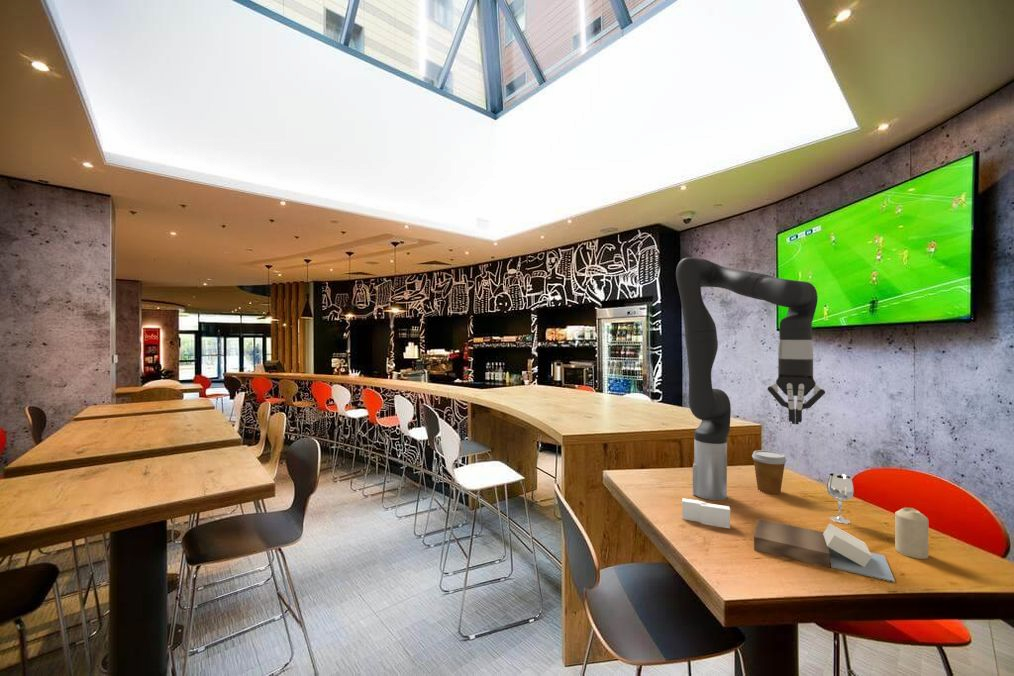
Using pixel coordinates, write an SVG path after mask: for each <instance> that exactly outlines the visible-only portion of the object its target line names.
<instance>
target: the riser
mask: <svg viewBox="0 0 1014 676" xmlns="http://www.w3.org/2000/svg"><path fill="white" fill-rule="evenodd" d="M754 530H755V531H754V534H753V550H755V551H759V552H762V553H767V554H770V555H775V556H779V557H784V558H788V559H792V560H796V561H800V562H803V563H808V564H812V565H816V566H819V567H820V566H821V567H824V568H829V569H830V567H831V564H830V554H829V548H828V546H827V544H826V541H825V538H824V535H823V533H824V531H820V530H815V529H809V528H805V527H800V526H795V525H791V524H786V523H782V522H777V521H771V520H768V519H763V518H757V521H756V526H755V529H754Z"/></svg>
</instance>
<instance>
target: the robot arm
mask: <svg viewBox="0 0 1014 676" xmlns="http://www.w3.org/2000/svg"><path fill="white" fill-rule="evenodd" d="M675 278H676V279H675V280H676V283H677V288H678V293H679V297H680V298H679V299H680V304H681V309H682V317H683V319H682V320H683V325H684V326H683V327H684V340H685V346H686V348H685V349H686V355H687V367H688V404H689V405H688V406H689V408H690V412H691V414H692V415H693V416H694V417H695V418H696V419H698V420H701V422H700V424H699V426H698V427H696V429H694V434H693V435H694V437H693V438H694V439H693V440H694V445H693V447H694V448H693V451H694V452H693V453H694V457H693V458H694V459H693V464H692V495H693V496H696V497H699V498H702V499H704V500H709V501H724V500H726V499H727V497H728V495H727V494H728V489H727V488H728V452H727V451H728V436H729V434H730V429H731V412H732V410H731V407H732V405H731V401H730V398H729V396H728V394H727V393H726V392H725V391H723V390H722V389H719V388H713V383H712V370H713V365H714V363H715V361H716V360H715V359H716V358H717V357H716V356H717V354H718V353H717V352H718V348H719V346H718V345H719V344H718V343H719V341H718V333H717V326H716V323H715V320H714V318H713V317H712V315H711V313H710V311H709V310H708V308H707V307H706V304H705V302H704V300H703V295H702V290H701V289H702V288H705V287H706V288H721V289H724V290H727V291H731V292H733V293H735V294H737V295H741V296H744V297H748V298H751V299H755V300H761V301H765V302H767V303H770V304H773V305H776V306H779V307H784V308H788V309H787V314H786V316H785V317H783V318H782V319H781V320H780V322H779V338H778V339H779V341H778V342H779V343H778V352H777V355H778V357H777V359H778V361H777V362H778V367H777V369H778V370H777V371H778V372H777V373H778V374H777V375H778V377H777V379H776V381H775V383H773V384H772V385H769V386H768V387H767V389H766V390H767V391H768V392H769V393H770V395H771V396H772V397H773V398H774V399H775V401H776V402H777V403H778V404H779V405H780V406H782V407H784V408H787V410H788V421H789V422H791V424H792V425H799V423H802V421H803V410H805V409H810V408H812V406H813V405H814V404H816V403H817V402H818V401H819V400H820V399H821V398H822V397H823V396H824V395H825V394H826V391H825V389H823V388H821V387H819V386H818V385H817V384H816V380H815V379H814V346H813V327H812V324H813V320H814V317H815V313H816V309H817V306H818V292H817V289H816V287H815V286H814V284H812V283H811V282H808V281H803V280H794V279H786V278H780V277H775V276H773V275H769V274H765V273H759V272H756V271H755V272H754V271H747V270H739V269H734V268H728V267H725V266H722V265H720V264H718V263H715V262H713V261H710V260H708V259H705V258H698V257H685V258H682V259H681V260H680V261H679V262H678V264H677V266H676V271H675ZM778 387H779V388H778ZM779 389H780V391H782V393H783V394H785V396H787V401H786V400H785V399H784V398H783V396H781V394H779ZM811 391H812V394H813V395H812V396H811V397H810V398H809V399H808V400H807V401H806V402H804V397H805V396H807V395H808V394H809V393H810V392H811ZM794 397H796V406H795V402H794V401H795V399H794ZM803 402H804V403H803ZM795 407H796V408H795Z"/></svg>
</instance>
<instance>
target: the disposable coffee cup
mask: <svg viewBox="0 0 1014 676" xmlns="http://www.w3.org/2000/svg"><path fill="white" fill-rule="evenodd" d="M751 457H752V460H753V464H754V471H755V478H756V479H755V481H756V487H757V488H756V489H757V490H758V491H759V490H760V491H759V492H761V491H762V492H761V493H763V492H764V493H763V494H767V493H768V495H780V494H781V493H782V492H781V491H782V486H783V478H784V471H785V464H786V463H787V458H786V456H785V454H783V453H781V452H777V451H771V450H764V449H763V450H754V451H753V452H752V455H751Z"/></svg>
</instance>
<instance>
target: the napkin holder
mask: <svg viewBox="0 0 1014 676" xmlns="http://www.w3.org/2000/svg"><path fill="white" fill-rule="evenodd" d="M681 503H682V504H681V506H682V510H681V511H682V512H681V514H682V517H681V518H682V520H685V521H686V520H687V521H691V522H692V521H693V522H697V523H700V524H701V525H707V526H711V527H719V528H724V529H731V508H730V506H729V505H728V506H727V505H721V504H714V503H708V502H706V501H701V500H697V499H691V498H690V499H689V498H683V497H682V502H681Z"/></svg>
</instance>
